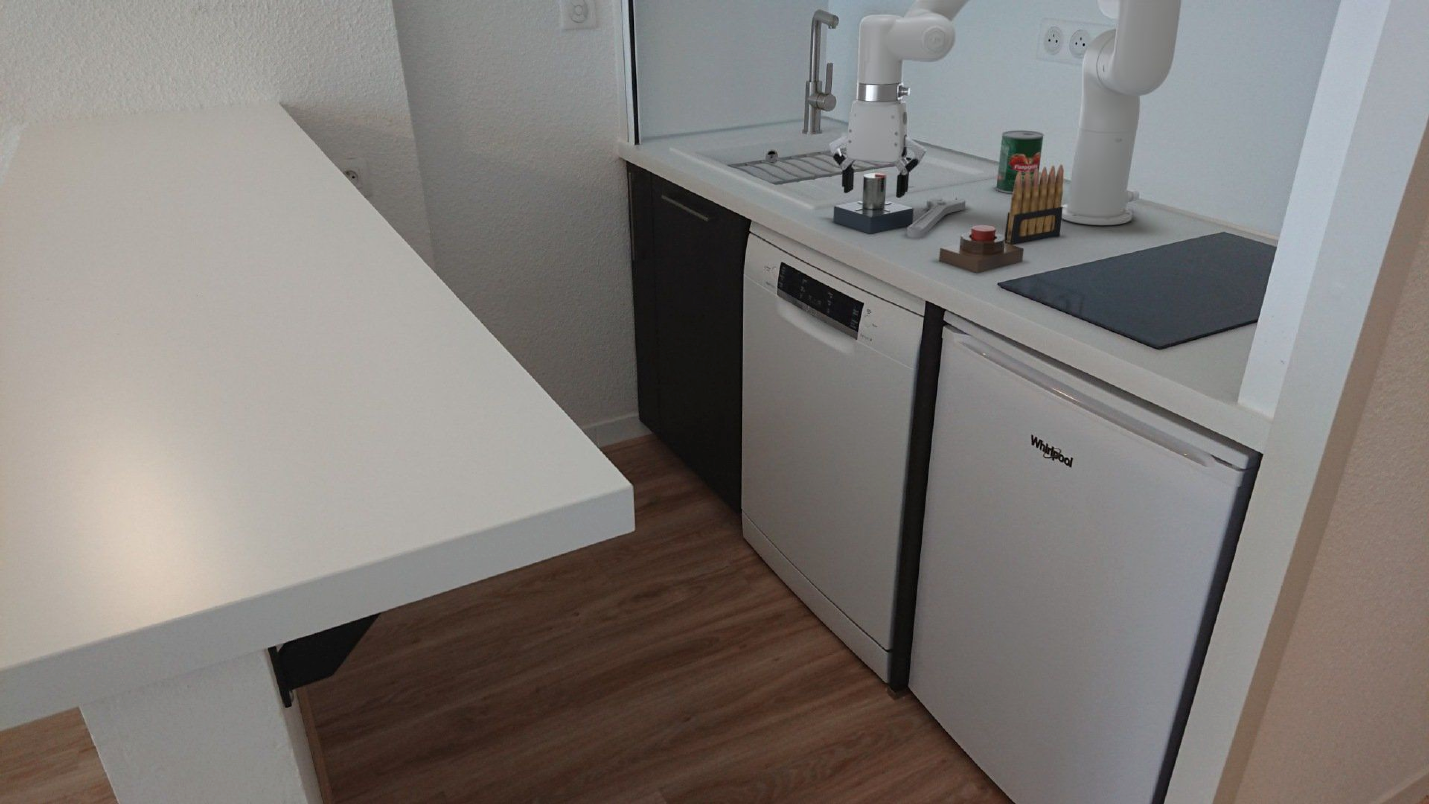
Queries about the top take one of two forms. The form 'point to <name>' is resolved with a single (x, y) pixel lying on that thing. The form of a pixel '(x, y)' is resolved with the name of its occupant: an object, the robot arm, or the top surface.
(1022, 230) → the ammunition clip
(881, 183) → the silver upright cylinder
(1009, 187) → the canned tomato
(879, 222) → the block
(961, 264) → the block
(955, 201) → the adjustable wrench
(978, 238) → the release button
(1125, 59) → the robot arm
